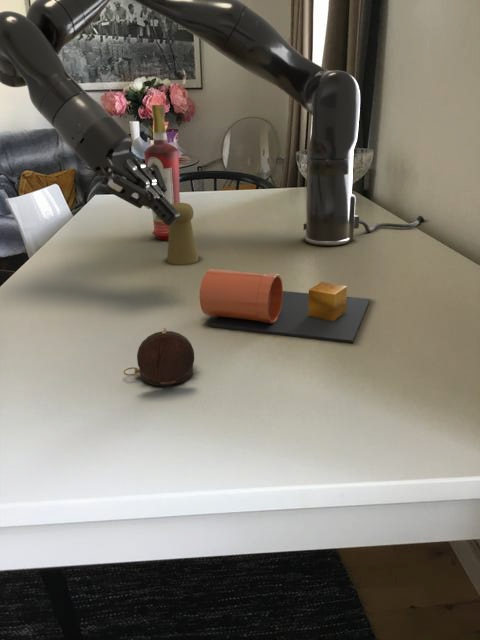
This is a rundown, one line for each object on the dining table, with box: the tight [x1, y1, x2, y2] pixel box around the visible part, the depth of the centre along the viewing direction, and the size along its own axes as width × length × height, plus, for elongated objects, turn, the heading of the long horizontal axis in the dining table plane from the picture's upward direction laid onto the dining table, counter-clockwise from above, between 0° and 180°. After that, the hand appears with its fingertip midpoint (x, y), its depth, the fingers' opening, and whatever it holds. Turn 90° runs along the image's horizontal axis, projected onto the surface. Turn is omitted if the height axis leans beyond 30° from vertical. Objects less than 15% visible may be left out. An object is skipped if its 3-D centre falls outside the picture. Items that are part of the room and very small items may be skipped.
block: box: [308, 281, 348, 321], centre depth 80 cm, size 4×4×4 cm
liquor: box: [143, 104, 181, 241], centre depth 122 cm, size 7×7×28 cm
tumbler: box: [199, 268, 284, 323], centre depth 79 cm, size 7×7×10 cm
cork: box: [166, 202, 199, 266], centre depth 108 cm, size 6×6×11 cm
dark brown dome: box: [122, 327, 195, 386], centre depth 64 cm, size 8×8×7 cm
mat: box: [208, 290, 371, 344], centre depth 83 cm, size 20×16×1 cm
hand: (174, 221), depth 84 cm, fingers closed
